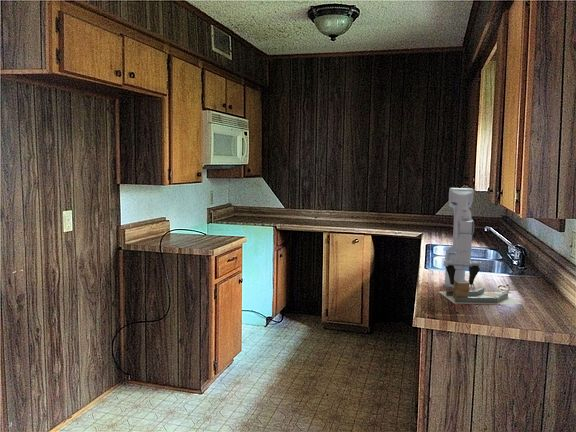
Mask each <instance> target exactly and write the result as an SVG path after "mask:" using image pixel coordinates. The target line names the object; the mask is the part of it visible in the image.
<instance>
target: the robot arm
mask: <svg viewBox="0 0 576 432" xmlns="http://www.w3.org/2000/svg"><path fill="white" fill-rule="evenodd" d="M448 191H449V192H448V206H449V207H450V208H452V210H453V228H452V229H453V230H452V231H453V232H452V233H453V235H452V245H451V246H449V247H447V248H446V250H445V259H444V260H443V266H444V267H445V272H444V283H442V285H443V286H444V287H448V288H453V286H454V280H465V279H466V270H467V269H468V270H469V271H468V272H469V273H468V274H469V275H468V283H469V286H470V285H471V286H473V284H474V282H475V279H476V276H477V275H478V274H479V272H480V269H481V268H482V267H483V266H482V264H483V262H482V261H481V260H479V261H477V260H472V259H471V257H472V256H471V255H472V243H473V235H474V233H475V221H474V219H472V218H473V217H472V211H471V210H470V209H469V208H471V206H473V205H472V204H473V201H474V196H475V195H474V194H475V193H474V192H475V191H474V188H471V187H470V188H469V187H468V188H466V187H465V188H463V187H460V188H459V187H449V190H448ZM465 281H466V280H465Z"/></svg>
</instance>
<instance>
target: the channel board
mask: <svg viewBox="0 0 576 432" xmlns="http://www.w3.org/2000/svg"><path fill="white" fill-rule="evenodd" d="M438 293H440V294H441V295H442V296H443V297H445V298H446V299H448V300H449V302H452V303H453V304H467V305H468V304H469V305H471V304H472V305H474V304H475V305H476V304H477V305H518V306H519V307H520V306H521V307H522V306H523V303H521V302H519V301H518V300H517V299H514V298H512V297H510V296H509V295H508V298H506V299H504V300H502V301H500V302H498V303H456V302H455V299H454V298H453V296H446V290H445V291H443V290H441V291H438ZM502 293H503V292H502V291H484V293H482V294H480V295H478V296H468V297H496V296H498V295H500V294H502Z"/></svg>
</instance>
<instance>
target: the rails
mask: <svg viewBox="0 0 576 432" xmlns="http://www.w3.org/2000/svg"><path fill="white" fill-rule="evenodd" d="M445 291H446V296H453V289H452V290H445ZM484 292H485V287H479V288H477V289H475V290H469V296H478V295H480V294H482V293H484ZM508 296H509V292H508V291H504V292H502V294H500V295H498V296H496V297H455V302H456V303H498V302H500V301H502V300H504V299H506V298H508ZM456 303H455V304H456Z"/></svg>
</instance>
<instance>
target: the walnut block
mask: <svg viewBox="0 0 576 432" xmlns="http://www.w3.org/2000/svg"><path fill="white" fill-rule="evenodd" d="M452 290H453V298H454V299H455V297H468V296H469V291H470V284H469V281H466V280H454V286H453V289H452Z"/></svg>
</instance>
